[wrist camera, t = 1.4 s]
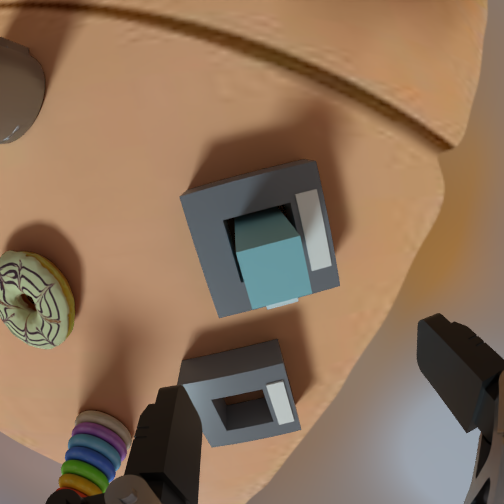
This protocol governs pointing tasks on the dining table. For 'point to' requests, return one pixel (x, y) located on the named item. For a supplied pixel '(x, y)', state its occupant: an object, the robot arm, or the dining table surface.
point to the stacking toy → (94, 453)
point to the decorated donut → (35, 299)
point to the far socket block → (238, 382)
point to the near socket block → (251, 200)
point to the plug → (271, 258)
